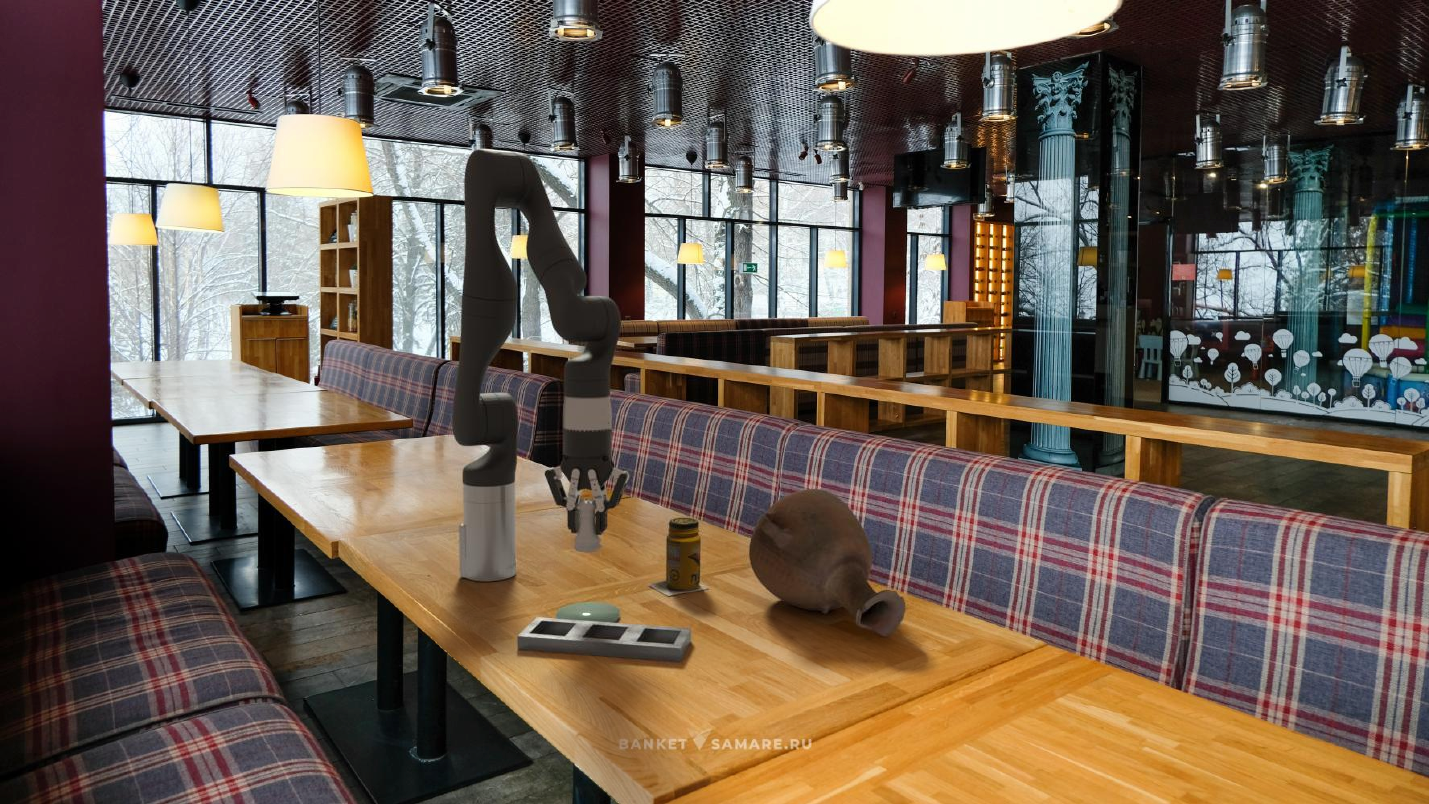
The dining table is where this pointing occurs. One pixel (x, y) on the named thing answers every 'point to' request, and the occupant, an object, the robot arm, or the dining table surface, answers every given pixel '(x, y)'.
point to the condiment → (682, 558)
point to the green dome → (589, 612)
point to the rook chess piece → (587, 528)
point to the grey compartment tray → (584, 643)
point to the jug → (821, 560)
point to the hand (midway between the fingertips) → (587, 532)
